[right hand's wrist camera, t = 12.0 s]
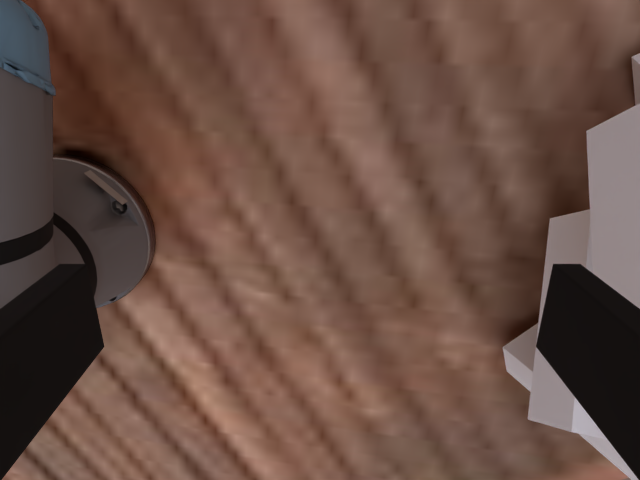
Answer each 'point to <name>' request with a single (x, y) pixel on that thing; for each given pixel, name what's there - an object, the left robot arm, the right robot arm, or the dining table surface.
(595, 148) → the pile of blocks
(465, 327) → the dining table surface
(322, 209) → the dining table surface
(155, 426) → the dining table surface
